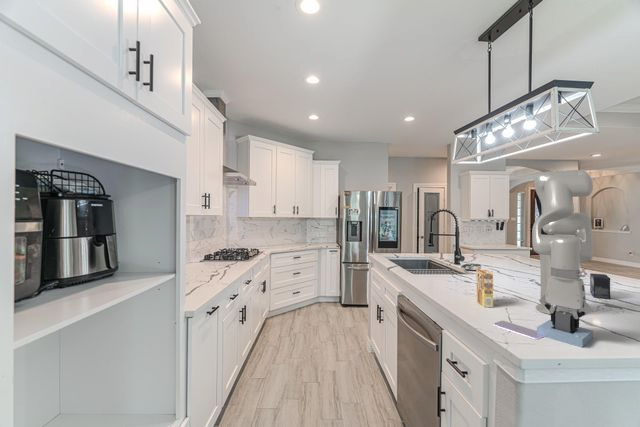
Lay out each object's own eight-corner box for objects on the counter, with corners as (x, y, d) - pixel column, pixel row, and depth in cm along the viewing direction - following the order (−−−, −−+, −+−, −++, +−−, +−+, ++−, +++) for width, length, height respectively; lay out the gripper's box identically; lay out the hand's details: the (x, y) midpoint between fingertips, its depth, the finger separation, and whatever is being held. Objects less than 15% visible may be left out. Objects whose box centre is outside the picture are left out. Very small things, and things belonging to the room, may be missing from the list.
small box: (589, 292, 153) (589, 272, 153) (606, 294, 149) (606, 274, 149) (592, 297, 144) (592, 276, 144) (611, 299, 140) (611, 278, 140)
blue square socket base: (549, 326, 108) (549, 319, 108) (592, 337, 98) (593, 329, 98) (536, 334, 101) (536, 326, 101) (582, 347, 91) (582, 338, 91)
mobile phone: (536, 338, 96) (491, 323, 109) (536, 341, 96) (491, 325, 109) (547, 333, 100) (502, 319, 113) (547, 336, 100) (502, 322, 113)
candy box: (493, 307, 129) (493, 273, 129) (483, 307, 129) (483, 272, 129) (485, 301, 138) (485, 269, 137) (475, 301, 138) (476, 269, 138)
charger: (559, 333, 102) (559, 309, 102) (574, 337, 99) (574, 313, 99) (555, 335, 100) (555, 312, 100) (569, 340, 97) (570, 315, 97)
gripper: (601, 276, 95) (601, 332, 95) (539, 268, 108) (539, 317, 109) (595, 279, 90) (594, 338, 90) (531, 270, 104) (531, 321, 104)
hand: (564, 326), depth 99 cm, fingers open, 4 cm apart
